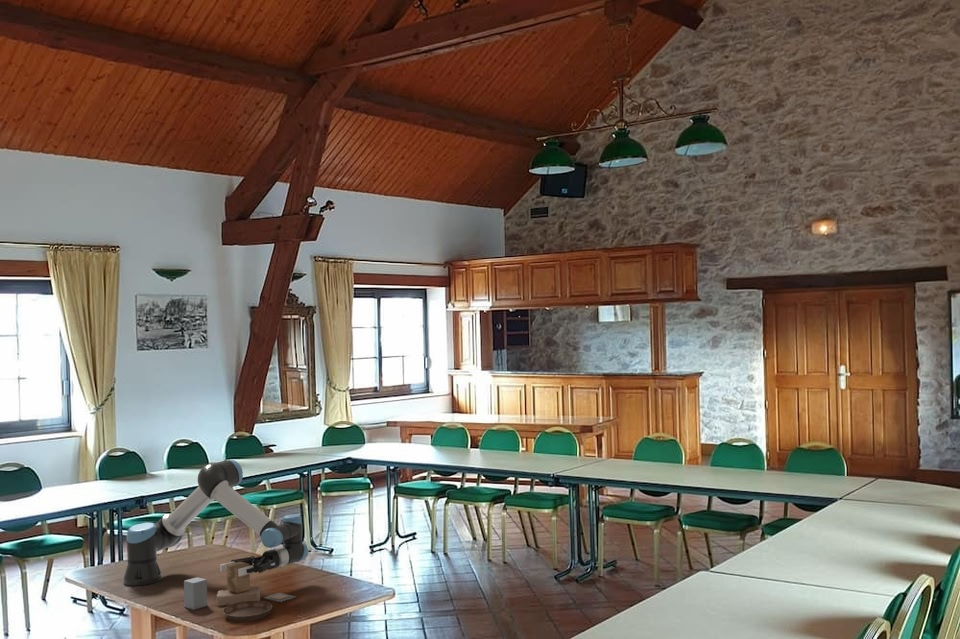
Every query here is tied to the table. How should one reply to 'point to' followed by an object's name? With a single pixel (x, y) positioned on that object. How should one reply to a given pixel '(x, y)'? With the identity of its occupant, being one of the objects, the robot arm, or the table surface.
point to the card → (279, 597)
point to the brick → (237, 596)
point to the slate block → (195, 593)
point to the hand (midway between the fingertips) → (229, 570)
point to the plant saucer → (247, 610)
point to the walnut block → (237, 578)
